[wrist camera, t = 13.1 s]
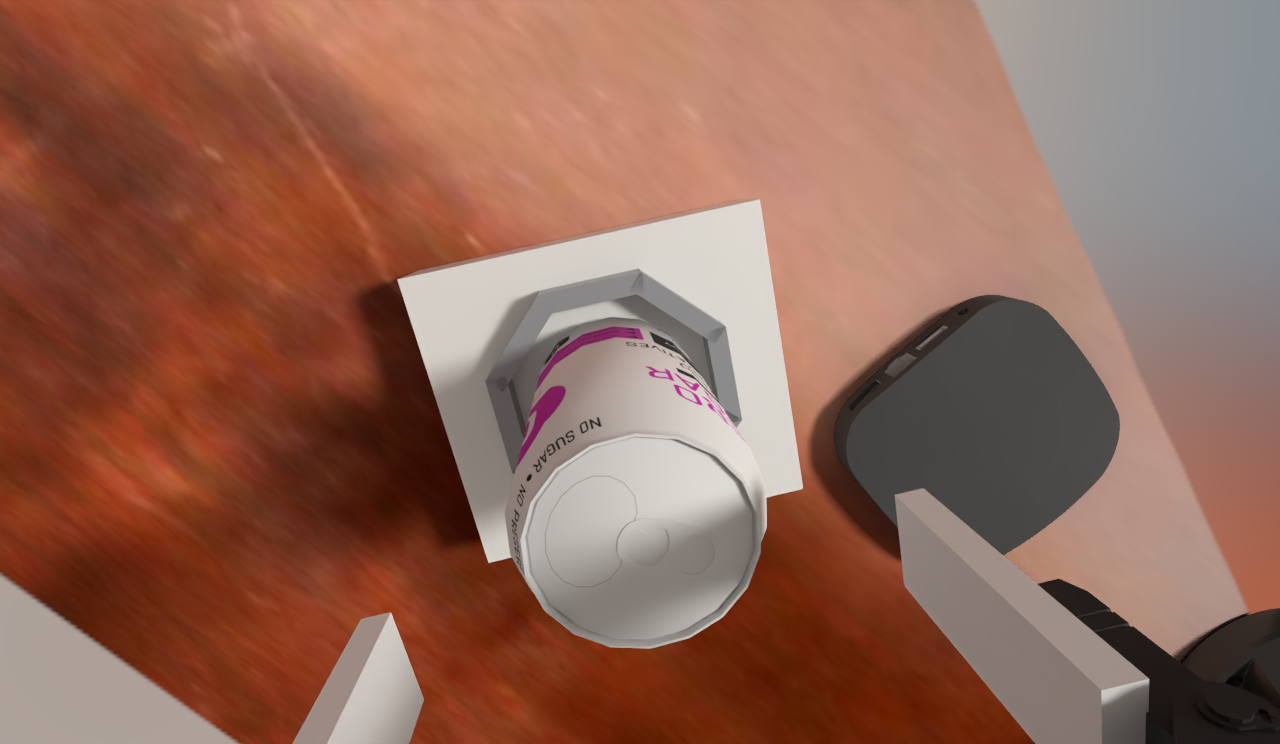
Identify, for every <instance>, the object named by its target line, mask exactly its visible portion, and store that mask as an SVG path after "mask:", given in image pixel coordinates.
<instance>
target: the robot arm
mask: <svg viewBox="0 0 1280 744" xmlns="http://www.w3.org/2000/svg"><path fill="white" fill-rule="evenodd" d="M895 503H896V513H897V522H898V531H899V540H900V550H901V559H902V568H903V578H904V586H905V587H906V588H907V590H908V591H909V592H910V593H911V594H912V596H913V597H914V598H915V599H916V600H917V602H918V603H919V604H920V605H921V606H922V608H923V609H924V610H925V611H926V613H927V614H928V615H929V616H930V617H931V619H932V620H933V621H934V622H935V623H936V625H937V626H938V627H939V628H940V629H941V631H942V632H943V633H944V634H945V635H946V637H947V638H948V639H949V640H950V641H951V643H952V644H953V645H954V646H955V647H956V649H957V650H958V651H959V652H960V653H961V655H962V656H963V657H964V658H965V659H966V661H967V662H968V663H969V664H970V666H971V667H972V668H973V669H974V670H975V672H976V673H977V674H978V675H979V676H980V678H981V679H982V680H983V681H984V682H985V684H986V685H987V686H988V687H989V688H990V690H991V691H992V692H993V693H994V694H995V696H996V697H997V698H998V699H999V700H1000V702H1001V703H1002V704H1003V705H1004V706H1005V708H1006V709H1007V710H1008V711H1009V713H1010V714H1011V715H1012V716H1013V717H1014V719H1015V720H1016V721H1017V722H1018V723H1019V725H1020V726H1021V727H1022V728H1023V729H1024V731H1025V732H1026V733H1027V734H1028V735H1029V737H1030V738H1031V739H1032V740H1033V741H1034V743H1035V744H1280V608H1278V609H1270V610H1265V611H1261V612H1257V613H1254V614H1251V615H1248V616H1245V617H1243V618H1240V619H1238V620H1236V621H1234V622H1232V623H1230V624H1228V625H1226V626H1225V627H1223V628H1221V629H1220V630H1218V631H1217V632H1215V633H1214V634H1212V635H1211V636H1209V637H1208V638H1207V639H1206V640H1204V641H1203V642H1202V643H1201V644H1200V645H1199V646H1197V647H1196V648H1195V649H1194V650H1193V651H1192V652H1191V653H1190V654H1189V655H1188V657H1187V658H1186V659H1185V660H1184V661H1183V663H1182V664H1181V663H1180V662H1178V661H1177V660H1176V659H1174V658H1173V657H1172V656H1171V655H1169V654H1168V653H1167V652H1165V651H1164V650H1163V649H1161V648H1160V647H1159V646H1158V645H1156V644H1155V643H1154V642H1152V641H1151V640H1150V639H1149V638H1147V637H1146V636H1145V635H1143V634H1142V633H1141V632H1139V631H1138V630H1137V629H1136V628H1134V627H1130V626H1129V624H1128V622H1127V621H1125V620H1124V619H1123V618H1121V617H1120V616H1119V615H1118V614H1116V613H1115V612H1113V613H1112V612H1111V610H1110V608H1108V607H1107V606H1106V605H1105V604H1103V603H1102V602H1101V601H1099V600H1098V599H1097V598H1096V597H1094V596H1093V595H1092V594H1090V593H1089V592H1088V591H1086V590H1083V589H1081V588H1079V587H1076V586H1074V585H1072V584H1070V583H1067V582H1065V581H1063V580H1061V579H1056V580H1052V581H1048V582H1043V583H1039V584H1036V583H1035V582H1034V581H1033V580H1032V579H1030V578H1029V577H1028V576H1027V575H1026V574H1025V573H1023V572H1022V571H1021V570H1020V569H1019V568H1017V567H1016V566H1015V565H1014V564H1013V563H1012V562H1010V561H1009V560H1008V559H1007V558H1006V557H1004V556H1003V555H1002V554H1001V553H1000V552H999V551H997V550H996V549H995V548H994V547H993V546H991V545H990V544H989V543H988V542H987V541H985V540H984V539H983V538H982V537H981V536H980V535H978V534H977V533H976V532H975V531H974V530H972V529H971V528H970V527H969V526H968V525H967V524H965V523H964V522H963V521H962V520H961V519H959V518H958V517H957V516H956V515H955V514H953V513H952V512H951V511H950V510H949V509H948V508H946V507H945V506H944V505H943V504H942V503H940V502H939V501H938V500H937V499H936V498H935V497H933V496H932V495H931V494H930V493H929V492H927V491H926V490H925V489H924V488H922V489H917V490H913V491H909V492H905V493H900V494H896V495H895ZM423 701H424V698H423V696H422V693H421V690H420V688H419V685H418V682H417V680H416V677H415V674H414V672H413V669H412V667H411V664H410V661H409V659H408V656H407V653H406V651H405V648H404V645H403V643H402V640H401V638H400V635H399V632H398V630H397V627H396V624H395V622H394V619H393V616H392V614H391V612H390V613H385V614H381V615H377V616H372V617H368V618H364V619H361V620H360V622H359V624H358V625H357V627H356V629H355V631H354V633H353V635H352V636H351V638H350V640H349V642H348V644H347V645H346V647H345V649H344V651H343V653H342V655H341V656H340V658H339V660H338V662H337V664H336V665H335V667H334V669H333V671H332V673H331V674H330V676H329V678H328V680H327V682H326V684H325V685H324V687H323V689H322V691H321V693H320V694H319V696H318V698H317V700H316V702H315V704H314V705H313V707H312V709H311V711H310V713H309V714H308V716H307V718H306V720H305V722H304V724H303V725H302V727H301V729H300V731H299V733H298V734H297V736H296V738H295V740H294V742H293V744H409V743H410V740H411V737H412V734H413V731H414V728H415V725H416V722H417V719H418V716H419V713H420V710H421V707H422V704H423Z"/></svg>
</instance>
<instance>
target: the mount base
mask: <svg viewBox="0 0 1280 744" xmlns="http://www.w3.org/2000/svg"><path fill="white" fill-rule="evenodd" d="M397 280H398V284H399V287H400V290H401V293H402V296H403V299H404V302H405V305H406V308H407V311H408V315H409V318H410V321H411V324H412V327H413V330H414V333H415V336H416V339H417V343H418V346H419V349H420V352H421V355H422V358H423V361H424V364H425V367H426V370H427V374H428V377H429V380H430V383H431V386H432V389H433V392H434V395H435V398H436V401H437V405H438V408H439V411H440V414H441V417H442V420H443V423H444V426H445V429H446V433H447V436H448V439H449V442H450V445H451V448H452V451H453V454H454V457H455V460H456V464H457V467H458V470H459V473H460V476H461V479H462V482H463V485H464V488H465V491H466V495H467V498H468V501H469V504H470V507H471V510H472V513H473V516H474V519H475V523H476V526H477V529H478V532H479V535H480V538H481V541H482V544H483V547H484V550H485V554H486V557H487V560H488V563H490V562H494V561H498V560H503V559H507V558H511V555H510V549H509V542H508V535H507V528H506V521H505V514H504V513H505V509H506V505H507V501H508V497H509V493H510V489H511V485H512V482H513V478H514V474H515V470H516V466H517V462H518V458H519V454H520V450H521V446H522V442H523V438H524V434H525V430H526V426H527V423H528V419H529V415H530V411H531V407H532V403H533V399H534V395H535V391H536V387H537V383H538V379H539V375H540V372H541V368H542V364H543V362H544V361H545V359H546V358H547V357H548V355H549V354H550V352H551V351H552V350H553V348H554V347H555V345H556V344H557V342H558V341H559V340H560V339H562V338H563V337H565V336H566V335H568V334H569V333H571V332H572V331H573V330H575V329H576V328H578V327H579V326H581V325H582V324H585V323H589V322H593V321H597V320H601V319H605V318H608V317H618V318H629V319H640V320H642V321H644V322H646V323H648V324H651V325H653V326H655V327H657V328H659V329H661V330H663V331H665V332H666V333H667V334H668V335H669V336H670V337H671V338H672V339H673V340H674V341H675V342H676V343H677V344H678V345H679V346H680V347H681V348H682V349H683V350H684V351H685V352H686V354H687V355H688V357H689V358H690V360H691V361H692V363H693V364H694V366H695V367H696V369H697V370H698V372H699V373H700V375H701V376H702V378H703V379H704V381H705V382H706V384H707V385H708V386H709V388H710V389H711V391H712V392H713V394H714V395H715V397H716V398H717V400H718V401H719V403H720V404H721V406H722V407H723V409H724V410H725V412H726V413H727V415H728V416H729V418H730V419H731V421H732V422H733V424H734V425H735V427H736V428H737V430H738V431H739V433H740V434H741V436H742V437H743V438H744V440H745V441H746V443H747V444H748V446H749V447H750V449H751V452H752V454H753V456H754V459H755V461H756V464H757V466H758V468H759V471H760V473H761V475H762V478H763V480H764V483H765V485H766V497H771V496H775V495H779V494H783V493H788V492H792V491H796V490H800V489H803V485H802V478H801V471H800V465H799V458H798V451H797V445H796V438H795V431H794V425H793V418H792V411H791V404H790V398H789V391H788V384H787V378H786V371H785V364H784V358H783V351H782V344H781V338H780V331H779V324H778V318H777V311H776V304H775V298H774V291H773V284H772V278H771V271H770V264H769V258H768V251H767V244H766V238H765V231H764V224H763V218H762V211H761V204H760V199H740V200H735V201H731V202H726V203H722V204H717V205H713V206H708V207H704V208H699V209H694V210H690V211H685V212H681V213H676V214H672V215H667V216H663V217H658V218H654V219H649V220H645V221H640V222H636V223H631V224H627V225H622V226H618V227H613V228H609V229H604V230H600V231H595V232H591V233H586V234H582V235H577V236H572V237H568V238H563V239H559V240H554V241H550V242H545V243H541V244H536V245H532V246H527V247H523V248H518V249H514V250H509V251H505V252H500V253H496V254H491V255H487V256H482V257H478V258H473V259H469V260H464V261H460V262H455V263H450V264H446V265H441V266H437V267H432V268H428V269H423V270H419V271H416V272H414V273H412V274H409V275H407V276H404V277H402V278H400V279H397Z"/></svg>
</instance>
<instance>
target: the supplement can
mask: <svg viewBox="0 0 1280 744" xmlns="http://www.w3.org/2000/svg"><path fill="white" fill-rule="evenodd" d="M504 514H505V521H506V528H507V535H508V542H509V549H510V555H511V557H512V559H513V560H514V562H515V564H516V565H517V567H518V569H519V571H520V572H521V574H522V576H523V577H524V579H525V581H526V583H527V584H528V586H529V588H530V589H531V591H532V592H533V593H534V594H535V596H536V597H537V599H538V601H539V602H540V604H541V606H542V608H543V609H544V611H545V612H547V613H548V614H549V615H550V616H552V617H553V618H554V619H555V620H557V621H558V622H559V623H560V624H562V625H563V626H564V627H565V628H567V629H568V630H569V631H570V632H572V633H573V634H574V635H577V636H580V637H583V638H586V639H589V640H591V641H594V642H597V643H600V644H603V645H606V646H609V647H616V648H649V649H651V648H655V647H658V646H662V645H666V644H669V643H673V642H677V641H681V640H684V639H688V638H690V637H692V636H694V635H695V634H697V633H698V632H700V631H702V630H703V629H705V628H706V627H708V626H710V625H711V624H713V623H714V622H716V621H718V620H719V619H721V618H722V617H723V616H724V615H725V614H726V613H727V612H728V610H729V609H730V608H731V607H732V606H733V605H734V603H735V602H736V601H737V600H738V599H739V597H740V596H741V595H742V594H743V593H744V591H745V590H746V589H747V588H748V586H749V583H750V580H751V577H752V575H753V572H754V569H755V567H756V564H757V561H758V559H759V556H760V553H761V541H762V539H763V536H764V533H765V531H766V528H767V511H766V485H765V483H764V480H763V478H762V475H761V473H760V471H759V468H758V466H757V464H756V461H755V459H754V456H753V454H752V452H751V449H750V447H749V446H748V444H747V443H746V441H745V440H744V438H743V437H742V436H741V434H740V433H739V431H738V430H737V428H736V427H735V425H734V424H733V422H732V421H731V419H730V418H729V416H728V415H727V413H726V412H725V410H724V409H723V407H722V406H721V404H720V403H719V401H718V400H717V398H716V397H715V395H714V394H713V392H712V391H711V389H710V388H709V386H708V385H707V384H706V382H705V381H704V379H703V378H702V376H701V375H700V373H699V372H698V370H697V369H696V367H695V366H694V364H693V363H692V361H691V360H690V358H689V357H688V355H687V354H686V352H685V351H684V350H683V349H682V348H681V347H680V346H679V345H678V344H677V343H676V342H675V341H674V340H673V339H672V338H671V337H670V336H669V335H668V334H667V333H666V332H665V331H663V330H661V329H659V328H657V327H655V326H653V325H651V324H648V323H646V322H644V321H642V320H640V319H629V318H618V317H608V318H605V319H601V320H597V321H593V322H589V323H585V324H582V325H581V326H579V327H578V328H576V329H575V330H573V331H572V332H571V333H569V334H568V335H566V336H565V337H563V338H562V339H560V340H559V341H558V342H557V344H556V345H555V347H554V348H553V350H552V351H551V352H550V354H549V355H548V357H547V358H546V359H545V361H544V362H543V364H542V368H541V372H540V375H539V379H538V383H537V387H536V391H535V395H534V399H533V403H532V407H531V411H530V415H529V419H528V423H527V426H526V430H525V434H524V438H523V442H522V446H521V450H520V454H519V458H518V462H517V466H516V470H515V474H514V478H513V482H512V485H511V489H510V493H509V497H508V501H507V505H506V509H505V513H504Z"/></svg>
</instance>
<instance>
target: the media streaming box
mask: <svg viewBox="0 0 1280 744" xmlns="http://www.w3.org/2000/svg"><path fill="white" fill-rule="evenodd" d="M938 326H939V327H938ZM933 330H934V331H933ZM928 334H929V335H928ZM917 343H918V344H917ZM1119 430H1120V421H1119V414H1118V412H1117V409H1116V407H1115V405H1114V403H1113V401H1112V399H1111V397H1110V395H1109V393H1108V391H1107V390H1106V388H1105V386H1104V384H1103V383H1102V381H1101V379H1100V378H1099V376H1098V375H1097V373H1096V372H1095V370H1094V368H1093V367H1092V366H1091V364H1090V363H1089V361H1088V360H1087V358H1086V357H1085V356H1084V354H1083V353H1082V352H1081V350H1080V349H1079V348H1078V346H1077V345H1076V344H1075V343H1074V341H1073V340H1072V339H1071V338H1070V336H1069V335H1068V334H1067V333H1066V332H1065V330H1064V329H1063V328H1062V327H1061V326H1060V325H1059V324H1058V322H1057V321H1056V320H1055V319H1054V318H1053V317H1052V316H1051V315H1050V314H1049V313H1048V312H1047V311H1046V310H1044V309H1043V308H1041V307H1039V306H1038V305H1035V304H1033V303H1030V302H1027V301H1023V300H1018V299H1014V298H1009V297H1005V296H1000V295H985V296H979V297H975V298H972V299H969V300H967V301H965V302H963V303H961V304H959V305H958V306H957V307H955V308H954V309H953V310H951V311H950V312H949V313H947V314H946V315H945V316H944V317H942V318H941V319H940V320H938V321H937V322H936V323H935V324H933V325H932V326H931V327H930V328H928V329H927V330H926V331H925V332H923V333H922V334H921V335H920V336H918V337H917V338H916V339H915V340H914V341H912V342H911V343H910V344H909V345H908V346H906V347H905V348H904V349H903V350H902V351H901V352H899V353H898V354H897V355H896V356H895V357H894V358H892V359H891V360H890V361H889V362H888V363H887V364H886V365H884V366H883V367H882V368H881V369H880V370H879V371H878V372H877V373H875V374H874V375H873V376H872V377H871V378H870V379H869V380H868V381H867V382H866V383H865V384H863V385H862V386H861V387H860V388H859V389H858V390H857V391H856V392H855V393H854V394H853V395H852V396H851V397H850V398H849V399H848V400H847V401H846V403H845V404H844V406H843V407H842V409H841V411H840V413H839V416H838V418H837V422H836V426H835V432H834V442H835V449H836V452H837V455H838V458H839V460H840V461H841V463H842V464H843V465H844V467H845V468H846V469H847V470H848V472H849V473H850V474H851V476H852V477H853V478H854V479H855V481H856V482H857V483H858V484H859V485H860V487H861V488H862V489H863V490H864V491H865V493H866V494H867V495H868V496H869V497H870V498H871V500H872V501H873V502H874V503H875V504H876V505H877V506H878V508H879V509H880V510H881V511H882V512H883V513H884V514H885V515H886V516H887V517H888V518H889V520H890V521H891V522H892V523H893V524H894V525H895V526H896V527H897V528H898V522H897V513H896V503H895V495H896V494H900V493H905V492H909V491H913V490H917V489H922V488H924V489H925V490H926V491H927V492H929V493H930V494H931V495H932V496H933V497H935V498H936V499H937V500H938V501H939V502H940V503H942V504H943V505H944V506H945V507H946V508H948V509H949V510H950V511H951V512H952V513H953V514H955V515H956V516H957V517H958V518H959V519H961V520H962V521H963V522H964V523H965V524H967V525H968V526H969V527H970V528H971V529H972V530H974V531H975V532H976V533H977V534H978V535H980V536H981V537H982V538H983V539H984V540H985V541H987V542H988V543H989V544H990V545H991V546H993V547H994V548H995V549H996V550H997V551H999V552H1000V553H1001V554H1002V555H1004V554H1006V553H1008V552H1010V551H1011V550H1013V549H1014V548H1016V547H1018V546H1019V545H1021V544H1022V543H1024V542H1025V541H1027V540H1028V539H1030V538H1031V537H1033V536H1034V535H1036V534H1037V533H1038V532H1040V531H1041V530H1042V529H1044V528H1045V527H1046V526H1048V525H1049V524H1050V523H1052V522H1053V521H1054V520H1055V519H1057V518H1058V517H1059V516H1060V515H1061V514H1063V513H1064V512H1065V511H1066V510H1067V509H1069V508H1070V507H1071V506H1072V505H1073V504H1074V503H1075V502H1076V501H1077V500H1078V499H1080V498H1081V497H1082V496H1083V495H1084V494H1085V493H1086V492H1087V491H1088V490H1089V489H1090V488H1091V487H1092V486H1093V485H1094V484H1095V483H1096V481H1097V480H1098V479H1099V478H1100V477H1101V476H1102V475H1103V473H1104V472H1105V470H1106V469H1107V467H1108V465H1109V463H1110V461H1111V459H1112V457H1113V455H1114V452H1115V449H1116V446H1117V442H1118V438H1119Z"/></svg>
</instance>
